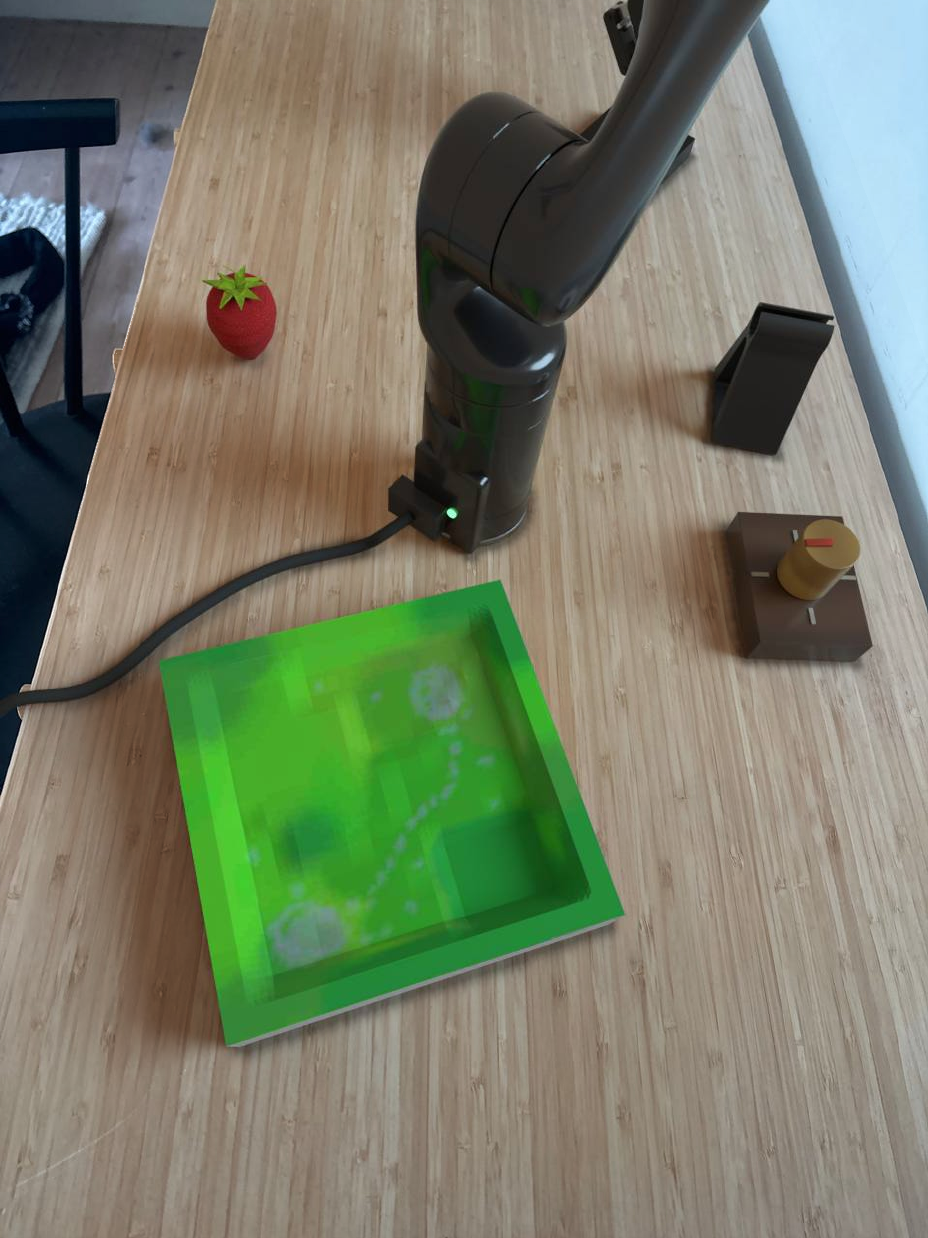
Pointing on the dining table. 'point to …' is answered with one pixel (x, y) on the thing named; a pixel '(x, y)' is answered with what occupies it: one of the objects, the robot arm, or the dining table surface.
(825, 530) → the lock knob
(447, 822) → the tray
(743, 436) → the phone stand
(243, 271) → the strawberry
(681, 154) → the button block
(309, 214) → the dining table surface
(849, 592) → the lock plate
